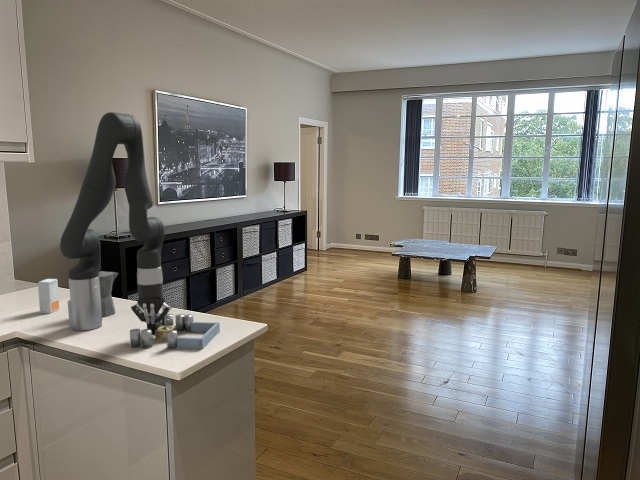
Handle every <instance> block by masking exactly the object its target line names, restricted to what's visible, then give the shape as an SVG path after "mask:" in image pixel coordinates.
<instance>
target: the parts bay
mask: <svg viewBox="0 0 640 480" xmlns="http://www.w3.org/2000/svg"><path fill="white" fill-rule="evenodd" d="M220 325H221V324H220V322H213V321H194V322H191V332H195V333H196V332H198V333H199V332H200V333H204V334H203V335H202V336H201V337H187V336H185V337H184V336H177V348H178V349H198V350H199V349H200V350H203V349H205V348H206V346H207V345H208V344H209V343H210V342H211V341H212V340H213V339H214V338H215V337H216V336H217V335H218V334H219V333H220V332H221V331H220V327H221V326H220ZM177 348H176V349H177Z"/></svg>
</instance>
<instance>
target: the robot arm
mask: <svg viewBox="0 0 640 480" xmlns="http://www.w3.org/2000/svg"><path fill="white" fill-rule="evenodd" d="M118 145H123V146H124V148H125V151H126V156H127V163H126V164H127V166H126V170H125V175H124V180H123V186H124V191H125V195H126V199H127V204H128V209H129V210H128V228H129V232H130V235H131V236H132V238H133V239H134V240H136V241H138V242H143V243H144V244H143V246H142V247H141V248H139V249H138V250H137V252H136V263H137V268H136V269H137V272H136V284H137V297H138V298H137V302H136V303H135V304H134V305H132V306H131V307H130V309H131V310H132V312H133V313H134V314H135V315H136V317H137V318H138V319H139V321H140V322H141V323H143V322H144V323H146V329H151V331H152V336H154V335H155V330H156V329H158V328H157V323H158V322H160V321H161V320H163V319H164V317H165V316H166V315H167V314H169V312H170V311H171V309H172V305H171V304H170V305H169V304H167V303H166V302H165V299H164V284H163V283H164V277H163V269H162V257H161V256H162V255H161V253H162V248H163V244H164V238H165V234H166V233H165V225H164V223H163V221H162V220H161V219H160V218H159V217H155V216H150V217H149V216H148V210H149V209H151V208H153V206H154V202H153V197H152V193H151V190H150V186H149V183H148V178H147V172H146V171H147V170H146V162H145V160H146V159H145V149H144V137H143V130H142V125H141V123H140V121H139V119H138V118H137V117H136V116H134V115H133V114H128V113H123V112H122V113H121V112H116V111H115V112H112V111H111V112H106V113H104V114H103V115H102V116H101V118H100V120H99V122H98V126H97V129H96V134H95V138H94V144H93V149H92V152H91V157H90V159H89V163H88V166H87V170H86V173H85V176H84V178H83V180H82V184H81V186H80V191H79V194H78V196H77V200H76V202H75V205H74V206H73V207H74V208H73V210H72V212H71V213H72V214H71V215H70V218H69V220H68V222H67V224H66V226H65V228H64V231H63V232H62V235H61V237H60V242H59V249H60V253H61V254H62V256H63V257H64V258H66V259H70V260H75V259H78V262H77V263H76V264H75V265H73V267H71V268H70V269H69V270H68V273H67V274H68V287H69V289H68V290H69V297H70V299H69V300H67V311H68V313H67V315H68V327H69V329H71V330H75V331H88V330H89V331H90V330H95V329H98V328H100V327H102V326H103V317H102V312H101V297H100V282H99V270H100V267H102V266H101V263H102V261H101V256H102V255H101V254H102V253H101V240H100V237H99V235H98V233H97V232H96V231H95V230H94V229H92V228H89V227H90V225H91V224H92V222H93V221H95V219H96V218H97V217H99V216H100V214H101V213H102V212H103V211H104V210H106V208H107V207H108V205H109V204H110V202H111V201H112V198H113V197H112V196H113V195H114V192H115V188H116V186H117V185H116V184H117V183H116V182H117V181H116V175H115V171H114V167H113V159H114V154H115V151H116V149H117V147H118ZM160 311H161V313H160ZM159 314H160V316H159V317H158V315H159Z"/></svg>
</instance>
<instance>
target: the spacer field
mask: <svg viewBox="0 0 640 480" xmlns="http://www.w3.org/2000/svg"><path fill="white" fill-rule="evenodd" d="M160 314H161V313H159V315H158V317H159V316H160ZM174 318H175V319H174ZM194 319H195V318H194V314H191V313H190V314H183V313H178V314H175V316H174V313H167V315H166V316H165V317H164V319H163V320H161V321H160V322H158V323H157V328H159V327H160V326H176V330H169V331H167V341H166V348H167V349H168V350H175V349H177V337H178V332H184V331H185V332H192V331H191V322H195V321H194ZM174 320H175V322H174ZM174 323H175V325H174ZM129 340H130V348H132V349H136V348H140V347H141V348H142V349H150V348H152V347H153V335H152V331H151V329H147V328H144V329H140V328H132V329H130V330H129Z"/></svg>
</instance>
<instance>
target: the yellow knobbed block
mask: <svg viewBox="0 0 640 480" xmlns="http://www.w3.org/2000/svg"><path fill="white" fill-rule="evenodd" d="M169 330H176V325H174V326H160V327H159V328H158V329H156V330H155V341H156V342H167V331H169Z"/></svg>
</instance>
